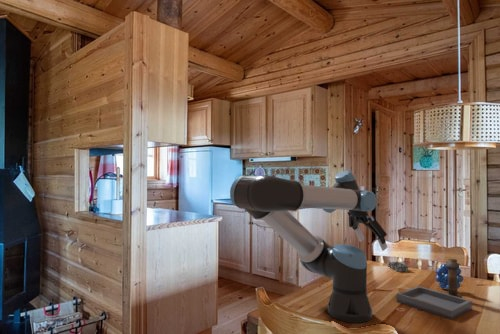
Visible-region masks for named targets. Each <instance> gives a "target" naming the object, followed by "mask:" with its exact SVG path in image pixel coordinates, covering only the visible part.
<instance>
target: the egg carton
mask: <svg viewBox="0 0 500 334" xmlns="http://www.w3.org/2000/svg"><path fill="white" fill-rule="evenodd" d="M386 261H387V262H388V263H387V268H388V267H390V268H389V269H391V270H393V271H395V272H396V273H397V272H398V273H402V272H404V273H408V272H409V266H410V264H406V263H404V262H402V261H392V262H391V261H390V260H388V259H386Z"/></svg>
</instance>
